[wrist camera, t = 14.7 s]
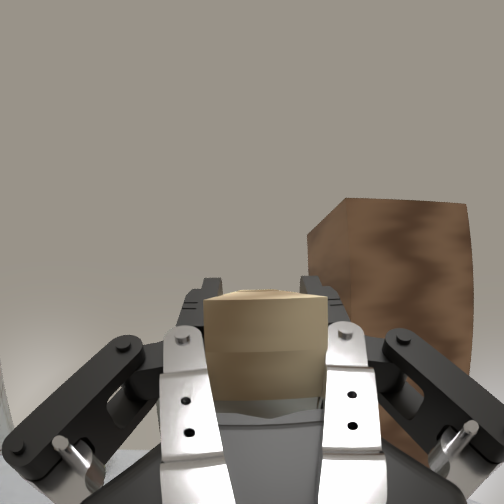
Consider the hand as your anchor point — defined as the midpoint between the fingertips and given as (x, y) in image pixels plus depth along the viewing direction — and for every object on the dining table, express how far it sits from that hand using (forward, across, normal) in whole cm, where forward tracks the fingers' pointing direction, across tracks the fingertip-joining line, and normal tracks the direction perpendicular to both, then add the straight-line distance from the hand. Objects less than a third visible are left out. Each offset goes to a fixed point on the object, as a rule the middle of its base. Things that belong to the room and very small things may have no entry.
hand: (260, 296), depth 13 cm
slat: (+5, 0, +6) cm, 8 cm away
